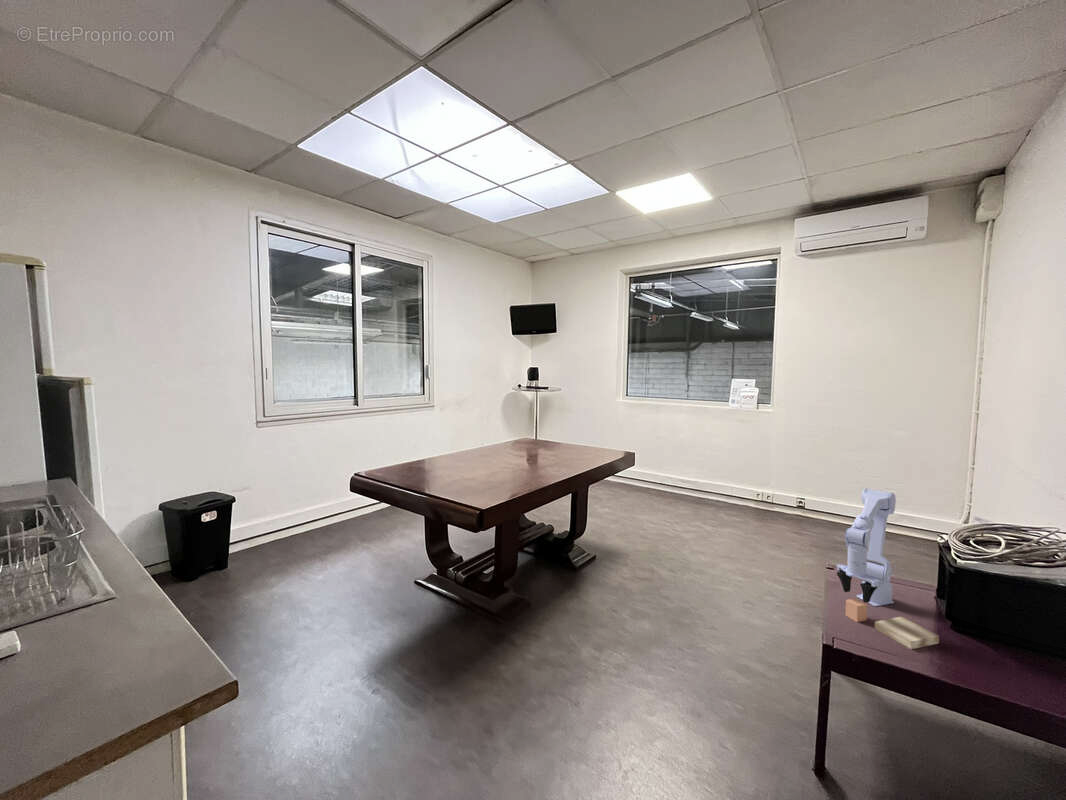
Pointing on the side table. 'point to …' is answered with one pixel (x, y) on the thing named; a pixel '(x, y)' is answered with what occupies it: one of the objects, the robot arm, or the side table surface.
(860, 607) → the terracotta block
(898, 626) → the birch base
